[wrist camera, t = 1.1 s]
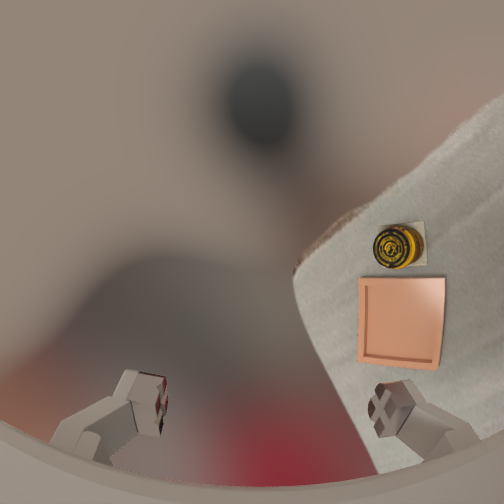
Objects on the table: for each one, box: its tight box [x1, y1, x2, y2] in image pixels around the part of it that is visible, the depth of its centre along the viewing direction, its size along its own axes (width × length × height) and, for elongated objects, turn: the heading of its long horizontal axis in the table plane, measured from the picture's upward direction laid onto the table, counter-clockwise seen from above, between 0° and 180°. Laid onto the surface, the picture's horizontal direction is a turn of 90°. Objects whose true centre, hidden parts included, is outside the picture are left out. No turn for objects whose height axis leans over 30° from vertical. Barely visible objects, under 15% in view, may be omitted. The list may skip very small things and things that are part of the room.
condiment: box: [373, 221, 427, 269], centre depth 40 cm, size 7×8×12 cm
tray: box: [357, 276, 446, 370], centre depth 44 cm, size 15×15×2 cm
